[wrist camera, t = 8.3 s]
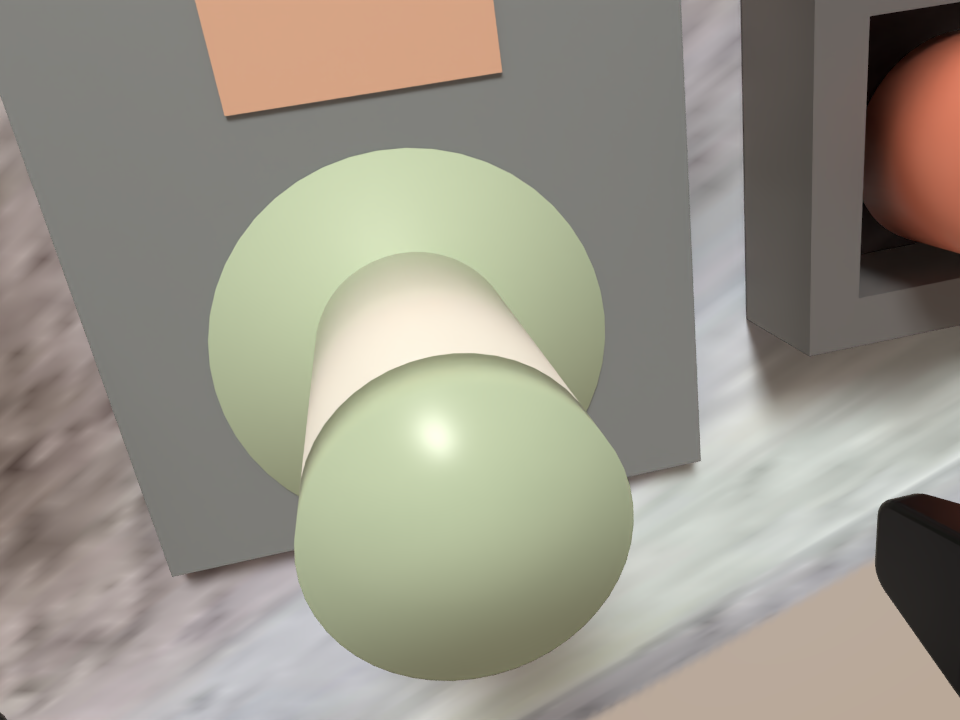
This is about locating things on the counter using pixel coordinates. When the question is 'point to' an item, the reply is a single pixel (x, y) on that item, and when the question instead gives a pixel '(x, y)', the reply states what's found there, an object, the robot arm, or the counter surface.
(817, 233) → the button housing
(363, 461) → the cream cylinder
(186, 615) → the counter surface
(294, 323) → the picture board
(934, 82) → the button
